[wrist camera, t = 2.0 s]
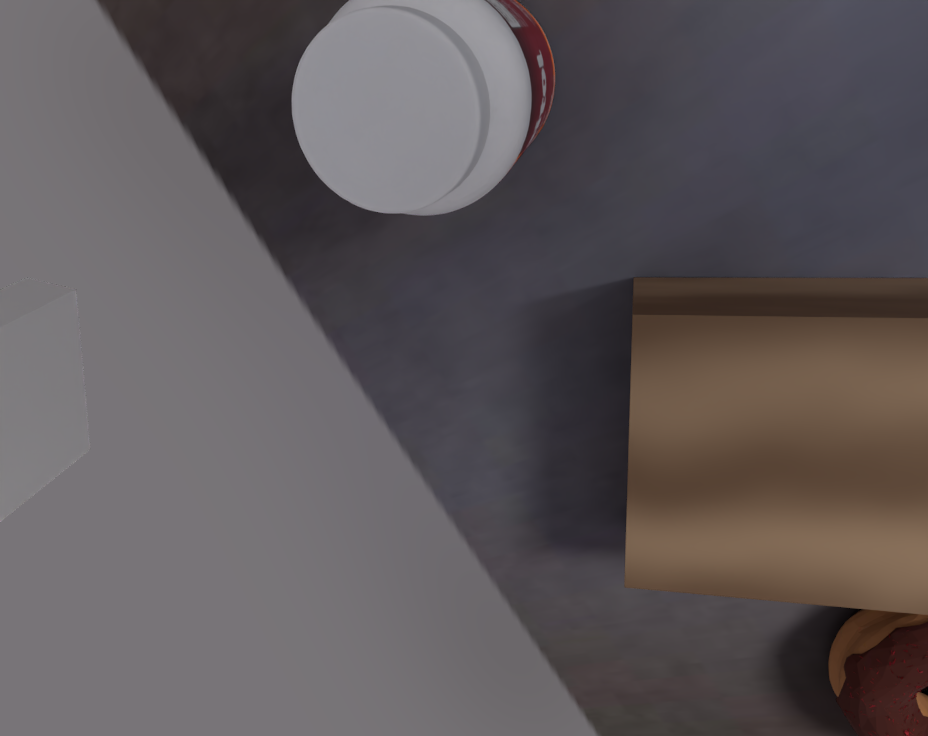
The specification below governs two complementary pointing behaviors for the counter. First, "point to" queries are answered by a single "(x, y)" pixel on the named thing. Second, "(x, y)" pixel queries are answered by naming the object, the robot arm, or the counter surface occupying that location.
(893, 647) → the donut
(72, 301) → the robot arm
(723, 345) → the tan flat block
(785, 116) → the counter surface
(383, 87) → the pill bottle
